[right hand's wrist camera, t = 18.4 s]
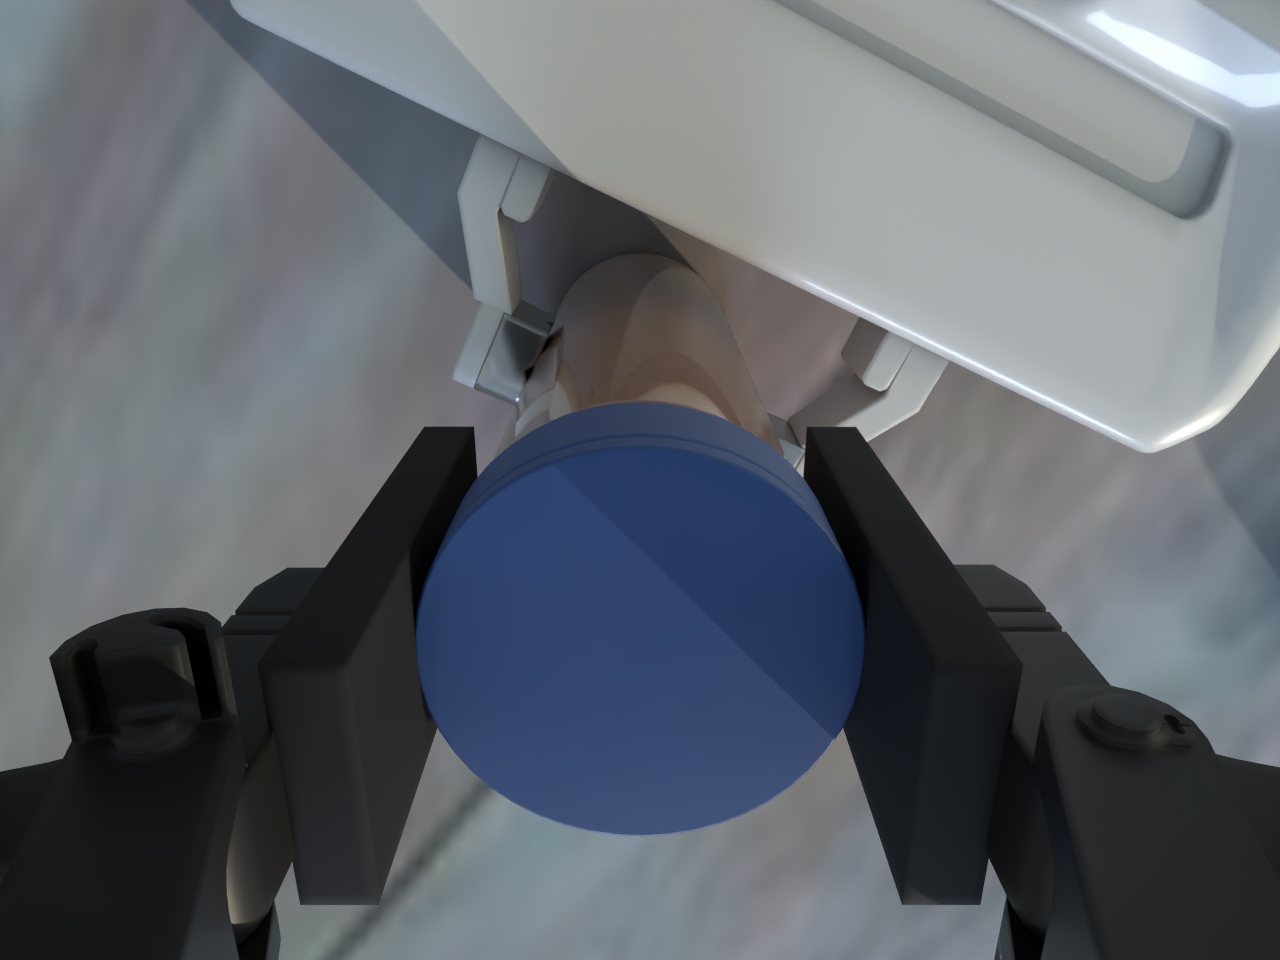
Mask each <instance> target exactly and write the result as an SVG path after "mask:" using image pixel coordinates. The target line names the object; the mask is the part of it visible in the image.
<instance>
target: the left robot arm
mask: <svg viewBox="0 0 1280 960" xmlns="http://www.w3.org/2000/svg"><path fill="white" fill-rule="evenodd" d="M230 2H231V5H232V7H233V8H234V9H235V11H236V12H237V13H238V14H239V15H240V16H241V17H243V18H244V19H246V20H247V21H249V22H251V23H253V24H255V25H257V26H259V27H261V28H263V29H265V30H268V31H270V32H272V33H274V34H276V35H278V36H280V37H282V38H284V39H286V40H288V41H290V42H292V43H294V44H296V45H299V46H301V47H303V48H305V49H307V50H309V51H311V52H313V53H315V54H317V55H319V56H321V57H323V58H325V59H328V60H330V61H332V62H334V63H336V64H338V65H340V66H342V67H344V68H346V69H348V70H350V71H352V72H354V73H356V74H359V75H361V76H363V77H365V78H367V79H369V80H371V81H373V82H375V83H377V84H379V85H381V86H383V87H385V88H388V89H390V90H392V91H394V92H396V93H398V94H400V95H402V96H404V97H406V98H408V99H410V100H412V101H414V102H416V103H419V104H421V105H423V106H425V107H427V108H429V109H431V110H433V111H435V112H437V113H439V114H441V115H443V116H445V117H448V118H450V119H452V120H454V121H456V122H458V123H460V124H462V125H464V126H466V127H468V128H470V129H472V130H474V131H476V132H479V133H480V134H479V136H478V139H477V142H476V144H475V147H474V150H473V153H472V155H471V158H470V161H469V163H468V166H467V169H466V171H465V174H464V177H463V179H462V182H461V185H460V187H459V190H458V193H457V197H458V203H459V209H460V215H461V221H462V227H463V234H464V240H465V246H466V252H467V258H468V264H469V270H470V276H471V282H472V289H473V295H474V299H475V300H477V301H479V302H480V304H479V306H478V309H477V311H476V314H475V316H474V319H473V321H472V324H471V326H470V329H469V331H468V334H467V336H466V339H465V341H464V344H463V346H462V349H461V351H460V354H459V356H458V359H457V361H456V364H455V366H454V369H453V373H452V377H451V379H453V380H455V381H457V382H459V383H461V384H463V385H465V386H467V387H469V388H471V389H476V390H478V391H481V392H483V393H485V394H488V395H490V396H493V397H495V398H497V399H500V400H502V401H505V402H507V403H509V404H512V405H514V406H516V405H517V403H518V401H519V399H520V396H521V394H522V392H523V389H524V387H525V385H526V382H527V380H528V378H529V376H530V373H531V371H532V369H533V366H534V365H535V363H536V362H537V360H538V359H539V357H540V355H541V352H542V350H543V348H544V346H545V343H546V341H547V338H548V336H549V334H550V331H551V329H552V327H553V324H554V322H555V319H556V316H554V315H552V314H550V313H548V312H546V311H544V310H542V309H540V308H538V307H536V306H534V305H531V304H529V303H527V302H525V301H523V300H522V289H521V281H520V272H519V264H518V256H517V247H516V239H515V230H514V222H513V219H514V220H516V221H519V222H521V223H523V222H525V221H527V220H529V219H531V218H532V217H533V216H534V215H535V214H536V213H538V212H539V211H540V210H541V208H542V205H543V203H544V201H545V198H546V196H547V194H548V191H549V189H550V186H551V184H552V182H553V179H554V177H555V175H556V172H557V171H559V172H561V173H563V174H565V175H568V176H570V177H572V178H574V179H576V180H578V181H580V182H582V183H584V184H586V185H588V186H590V187H592V188H594V189H596V190H599V191H601V192H603V193H605V194H607V195H609V196H611V197H613V198H615V199H617V200H619V201H621V202H623V203H625V204H627V205H630V206H632V207H634V208H636V209H638V210H640V211H642V212H644V213H646V214H648V215H650V216H652V217H654V218H656V219H659V220H661V221H663V222H665V223H667V224H669V225H671V226H673V227H675V228H677V229H679V230H681V231H683V232H685V233H687V234H690V235H692V236H694V237H696V238H698V239H700V240H702V241H704V242H706V243H708V244H710V245H712V246H714V247H716V248H719V249H721V250H723V251H725V252H727V253H729V254H731V255H733V256H735V257H737V258H739V259H741V260H743V261H745V262H747V263H750V264H752V265H754V266H756V267H758V268H760V269H762V270H764V271H766V272H768V273H770V274H772V275H774V276H776V277H779V278H781V279H783V280H785V281H787V282H789V283H791V284H793V285H795V286H797V287H799V288H801V289H803V290H805V291H807V292H810V293H812V294H814V295H816V296H818V297H820V298H822V299H824V300H826V301H828V302H830V303H832V304H834V305H836V306H839V307H841V308H843V309H845V310H847V311H849V312H851V313H853V314H855V315H857V316H859V319H858V321H857V323H856V325H855V327H854V328H853V330H852V332H851V334H850V336H849V338H848V340H847V342H846V343H845V345H844V347H843V349H842V351H841V355H842V359H843V360H844V361H845V362H846V363H847V364H848V366H849V367H850V368H851V369H852V370H853V371H854V373H855V374H853V375H852V376H850V377H849V378H847V379H846V380H845V381H843V382H842V383H840V384H839V385H837V386H836V387H834V388H833V389H831V390H830V391H828V392H827V393H825V394H824V395H822V396H821V397H819V398H818V399H816V400H815V401H814V402H812V403H811V404H809V405H808V406H806V407H805V408H803V409H802V410H800V411H799V412H797V413H796V414H794V415H793V416H791V417H790V418H788V421H789V422H788V421H786V420H784V419H781V418H779V417H777V416H774V415H772V414H770V413H767V414H768V416H769V419H770V421H771V423H772V426H773V428H774V430H775V432H776V435H777V437H778V439H779V442H780V444H781V446H782V449H783V451H784V453H785V455H786V458H787V460H788V462H789V463H790V464H791V465H792V466H793V467H794V468H795V469H796V471H797V472H798V473H799V474H800V475H801V476H802V477H803V473H804V458H805V444H806V430H807V427H857V429H858V430H859V431H860V433H861V434H862V436H863V437H864V439H865V440H866V441H869V440H871V439H873V438H874V437H876V436H878V435H879V434H881V433H883V432H885V431H886V430H888V429H890V428H891V427H893V426H895V425H897V424H898V423H900V422H902V421H903V420H905V419H907V418H908V417H910V416H912V415H914V414H915V413H917V412H918V411H919V410H920V408H921V407H922V405H923V403H924V402H925V400H926V398H927V397H928V395H929V393H930V392H931V390H932V388H933V387H934V385H935V384H936V382H937V380H938V379H939V377H940V375H941V374H942V372H943V370H944V369H945V367H946V366H947V364H948V362H949V361H952V362H954V363H956V364H958V365H961V366H963V367H965V368H967V369H969V370H971V371H973V372H975V373H977V374H979V375H981V376H983V377H985V378H987V379H990V380H992V381H994V382H996V383H998V384H1000V385H1002V386H1004V387H1006V388H1008V389H1010V390H1012V391H1014V392H1016V393H1018V394H1021V395H1023V396H1025V397H1027V398H1029V399H1031V400H1033V401H1035V402H1037V403H1039V404H1041V405H1043V406H1045V407H1047V408H1050V409H1052V410H1054V411H1056V412H1058V413H1060V414H1062V415H1064V416H1066V417H1068V418H1070V419H1072V420H1074V421H1076V422H1078V423H1081V424H1083V425H1085V426H1087V427H1089V428H1091V429H1093V430H1095V431H1097V432H1099V433H1101V434H1103V435H1105V436H1107V437H1110V438H1112V439H1114V440H1116V441H1118V442H1120V443H1122V444H1124V445H1126V446H1128V447H1130V448H1133V449H1135V450H1137V451H1139V452H1143V453H1154V452H1157V451H1160V450H1163V449H1165V448H1168V447H1170V446H1173V445H1175V444H1177V443H1180V442H1182V441H1185V440H1187V439H1189V438H1191V437H1193V436H1195V435H1198V434H1200V433H1202V432H1204V431H1206V430H1208V429H1210V428H1212V427H1213V426H1215V425H1216V424H1217V423H1219V422H1220V421H1221V420H1222V419H1223V418H1224V417H1225V416H1226V415H1227V414H1228V413H1229V412H1230V411H1231V410H1232V409H1233V408H1234V406H1235V405H1236V404H1237V403H1238V402H1239V400H1240V399H1241V398H1242V397H1243V396H1244V394H1245V393H1246V392H1247V391H1248V389H1249V388H1250V387H1251V386H1252V384H1253V383H1254V382H1255V380H1256V379H1257V377H1258V376H1259V375H1260V373H1261V372H1262V371H1263V369H1264V368H1265V367H1266V365H1267V364H1268V362H1269V361H1270V360H1271V358H1272V357H1273V356H1274V354H1275V353H1276V351H1277V350H1278V349H1279V347H1280V0H230Z"/></svg>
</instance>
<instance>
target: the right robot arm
mask: <svg viewBox="0 0 1280 960" xmlns="http://www.w3.org/2000/svg"><path fill="white" fill-rule="evenodd" d="M803 478H804V480H805V481H806V483H807V484H808V486H809V487H810V489H811V490H812V492H813V493H814V495H815V496H816V498H817V499H818V501H819V503H820V505H821V507H822V510H823V512H824V514H825V516H826V518H827V520H828V522H829V525H830V527H831V529H832V531H833V533H834V535H835V537H836V540H837V542H838V544H839V546H840V548H841V550H842V552H843V555H844V557H845V559H846V561H847V563H848V565H849V567H850V570H851V572H852V574H853V576H854V578H855V581H856V584H857V587H858V591H859V594H860V598H861V601H862V605H863V611H864V619H865V626H866V637H865V648H864V658H863V667H862V676H861V684H860V687H859V690H858V693H857V696H856V699H855V702H854V705H853V708H852V710H851V712H850V714H849V716H848V718H847V720H846V722H845V724H844V726H843V729H844V732H845V735H846V738H847V741H848V744H849V747H850V750H851V753H852V756H853V759H854V762H855V765H856V768H857V771H858V774H859V777H860V780H861V782H862V785H863V788H864V791H865V794H866V797H867V800H868V803H869V806H870V809H871V812H872V815H873V818H874V821H875V824H876V827H877V830H878V833H879V836H880V839H881V842H882V845H883V848H884V851H885V854H886V857H887V860H888V863H889V866H890V869H891V872H892V875H893V878H894V881H895V884H896V887H897V890H898V893H899V896H900V899H901V902H902V905H980V903H981V898H982V892H983V887H984V881H985V875H986V870H987V864H988V859H990V861H991V863H992V865H993V867H994V870H995V872H996V874H997V876H998V878H999V880H1000V882H1001V884H1002V886H1003V889H1004V891H1005V893H1006V895H1007V896H1006V902H1005V907H1004V912H1003V917H1002V922H1001V928H1000V933H999V938H998V943H997V948H996V954H995V959H994V960H1280V768H1279V767H1274V766H1269V765H1264V764H1259V763H1254V762H1248V761H1243V760H1238V759H1233V758H1229V757H1225V756H1222V755H1218V754H1215V752H1214V750H1213V748H1212V746H1211V744H1210V742H1209V740H1208V739H1207V738H1206V736H1205V735H1204V734H1203V733H1202V731H1201V730H1200V729H1199V728H1198V727H1197V725H1196V724H1195V723H1194V722H1193V721H1192V720H1191V719H1189V718H1188V717H1186V716H1185V715H1183V714H1182V713H1180V712H1179V711H1177V710H1176V709H1174V708H1173V707H1171V706H1170V705H1168V704H1166V703H1164V702H1161V701H1159V700H1156V699H1154V698H1152V697H1149V696H1147V695H1144V694H1142V693H1140V692H1136V691H1131V690H1127V689H1123V688H1118V687H1114V686H1111V685H1110V684H1109V683H1108V682H1107V681H1106V679H1105V678H1104V677H1103V676H1102V675H1101V673H1100V672H1099V671H1098V670H1097V669H1096V667H1095V666H1094V665H1093V664H1092V663H1091V661H1090V660H1089V659H1088V658H1087V657H1086V655H1085V654H1084V653H1083V652H1082V651H1081V649H1080V648H1079V647H1078V646H1077V645H1076V643H1075V642H1074V641H1073V640H1072V639H1071V637H1070V636H1069V635H1068V634H1067V633H1066V632H1062V627H1061V625H1060V624H1059V623H1058V622H1057V621H1056V619H1055V618H1054V617H1053V616H1052V615H1051V613H1050V612H1046V607H1045V606H1044V605H1043V604H1042V603H1041V601H1040V600H1039V599H1038V598H1037V597H1036V595H1035V594H1034V593H1033V592H1032V590H1031V589H1030V588H1029V587H1028V586H1027V585H1026V584H1025V583H1023V582H1021V581H1020V580H1018V579H1016V578H1015V577H1013V576H1011V575H1010V574H1008V573H1006V572H1005V571H1003V570H1001V569H1000V568H998V567H996V566H995V565H953V564H952V562H951V561H950V559H949V558H948V557H947V555H946V554H945V552H944V551H943V549H942V548H941V547H940V545H939V544H938V542H937V541H936V539H935V538H934V537H933V535H932V534H931V532H930V531H929V530H928V528H927V527H926V525H925V524H924V522H923V521H922V520H921V518H920V517H919V515H918V514H917V512H916V511H915V510H914V508H913V507H912V505H911V504H910V503H909V501H908V500H907V498H906V497H905V495H904V494H903V493H902V491H901V490H900V488H899V487H898V485H897V484H896V483H895V481H894V480H893V478H892V477H891V476H890V474H889V473H888V471H887V470H886V468H885V467H884V466H883V464H882V463H881V461H880V460H879V458H878V457H877V456H876V454H875V453H874V451H873V450H872V449H871V447H870V446H869V444H868V443H867V441H866V440H865V439H864V437H863V436H862V434H861V433H860V431H859V430H858V429H857V427H807V430H806V444H805V458H804V473H803ZM476 479H477V464H476V450H475V436H474V427H424V428H423V429H422V431H421V432H420V434H419V435H418V437H417V438H416V439H415V441H414V442H413V444H412V445H411V447H410V448H409V449H408V451H407V452H406V454H405V455H404V457H403V458H402V459H401V461H400V462H399V464H398V465H397V466H396V468H395V469H394V471H393V472H392V474H391V475H390V476H389V478H388V479H387V481H386V482H385V484H384V485H383V486H382V488H381V489H380V491H379V492H378V493H377V495H376V496H375V498H374V499H373V501H372V502H371V503H370V505H369V506H368V508H367V509H366V511H365V512H364V513H363V515H362V516H361V518H360V519H359V520H358V522H357V523H356V525H355V526H354V528H353V529H352V530H351V532H350V533H349V535H348V536H347V538H346V539H345V540H344V542H343V543H342V545H341V546H340V547H339V549H338V550H337V552H336V553H335V555H334V556H333V557H332V559H331V560H330V562H329V563H328V565H327V566H326V567H325V568H286V569H285V570H283V571H281V572H280V573H278V574H276V575H275V576H273V577H271V578H270V579H268V580H266V581H265V582H263V583H261V584H260V585H258V586H256V587H255V588H254V589H253V590H252V591H251V593H250V594H249V595H248V596H247V597H246V599H245V600H244V601H243V602H242V604H241V605H240V606H239V607H238V608H237V610H236V614H235V615H232V616H231V617H230V618H229V619H228V620H227V622H226V623H225V624H224V625H223V627H221V622H220V621H218V620H217V619H216V618H214V617H213V616H211V615H210V614H209V613H207V612H203V611H198V610H193V609H188V608H160V609H151V610H146V611H140V612H135V613H130V614H125V615H121V616H118V617H116V618H113V619H110V620H107V621H104V622H102V623H99V624H96V625H93V626H91V627H89V628H87V629H86V630H84V631H82V632H80V633H79V634H77V635H75V636H73V637H72V638H70V639H68V640H66V641H65V642H64V643H63V644H62V645H61V646H60V647H59V648H58V649H57V650H56V651H55V652H54V653H53V654H52V655H51V656H50V657H49V659H50V662H51V666H52V670H53V673H54V677H55V681H56V684H57V688H58V691H59V695H60V699H61V702H62V706H63V710H64V713H65V717H66V720H67V724H68V728H69V731H70V735H71V739H72V742H71V744H70V746H69V748H68V750H67V752H66V754H65V756H64V758H63V759H60V760H56V761H52V762H48V763H43V764H38V765H33V766H28V767H23V768H17V769H12V770H7V771H2V772H0V960H278V957H279V949H280V941H281V937H280V930H279V923H278V917H277V912H276V907H275V902H274V899H275V897H276V895H277V893H278V890H279V888H280V886H281V884H282V882H283V880H284V878H285V876H286V873H287V871H288V869H289V867H290V865H291V863H292V861H293V867H294V872H295V878H296V883H297V889H298V894H299V900H300V905H378V904H379V901H380V898H381V895H382V892H383V889H384V886H385V883H386V880H387V877H388V874H389V871H390V868H391V865H392V862H393V859H394V856H395V853H396V850H397V847H398V844H399V841H400V838H401V835H402V832H403V829H404V826H405V823H406V820H407V817H408V814H409V811H410V808H411V805H412V802H413V799H414V796H415V793H416V790H417V787H418V784H419V781H420V778H421V775H422V772H423V769H424V766H425V763H426V760H427V757H428V754H429V751H430V748H431V745H432V742H433V739H434V736H435V733H436V730H437V725H436V723H435V721H434V719H433V717H432V715H431V713H430V711H429V709H428V707H427V704H426V701H425V698H424V695H423V692H422V689H421V686H420V679H419V670H418V661H417V651H416V641H415V620H416V611H417V606H418V602H419V598H420V595H421V591H422V587H423V584H424V581H425V579H426V576H427V574H428V572H429V570H430V568H431V565H432V563H433V561H434V559H435V556H436V554H437V552H438V550H439V548H440V546H441V544H442V542H443V539H444V537H445V535H446V533H447V531H448V529H449V527H450V525H451V522H452V520H453V518H454V516H455V514H456V512H457V510H458V508H459V506H460V503H461V502H462V500H463V498H464V497H465V495H466V494H467V492H468V491H469V489H470V487H471V486H472V484H473V483H474V481H475V480H476Z"/></svg>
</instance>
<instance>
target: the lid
mask: <svg viewBox="0 0 1280 960" xmlns="http://www.w3.org/2000/svg"><path fill="white" fill-rule="evenodd" d="M865 637H866V626H865V619H864V611H863V605H862V601H861V598H860V594H859V591H858V587H857V584H856V581H855V578H854V576H853V574H852V572H851V570H850V567H849V565H848V563H847V561H846V559H845V557H844V555H843V552H842V550H841V548H840V546H839V544H838V542H837V540H836V537H835V535H834V533H833V531H832V529H831V527H830V525H829V522H828V520H827V518H826V516H825V514H824V512H823V510H822V507H821V505H820V503H819V501H818V499H817V498H816V496H815V495H814V493H813V492H812V490H811V489H810V487H809V486H808V484H807V483H806V481H805V480H804V478H803V477H802V476H801V475H800V474H799V473H798V472H797V471H796V469H795V468H794V467H793V466H792V465H791V464H790V463H789V462H788V460H786V459H785V458H784V457H783V456H782V455H781V454H779V453H778V452H777V451H776V450H775V449H774V448H772V447H771V446H770V445H769V444H768V443H766V442H765V441H763V440H761V439H760V438H758V437H757V436H755V435H754V434H752V433H751V432H749V431H747V430H746V429H744V428H742V427H740V426H738V425H736V424H733V423H731V422H729V421H727V420H725V419H723V418H721V417H718V416H714V415H711V414H708V413H705V412H702V411H699V410H696V409H691V408H686V407H681V406H675V405H670V404H659V403H641V402H637V403H622V404H610V405H605V406H600V407H595V408H589V409H584V410H581V411H578V412H575V413H572V414H569V415H566V416H563V417H560V418H557V419H555V420H553V421H551V422H549V423H547V424H545V425H543V426H541V427H539V428H537V429H534V430H532V431H531V432H529V433H528V434H526V435H525V436H523V437H522V438H520V439H519V440H517V441H516V442H514V443H513V444H511V445H510V446H509V447H508V448H507V449H505V450H504V451H503V452H502V453H501V454H500V455H499V456H497V457H496V458H495V459H494V460H493V461H492V462H491V463H490V464H489V465H488V466H487V467H486V469H485V470H484V471H483V472H482V473H481V474H480V476H479V477H478V478H477V479H476V480H475V481H474V483H473V484H472V486H471V487H470V489H469V491H468V492H467V494H466V495H465V497H464V498H463V500H462V502H461V503H460V506H459V508H458V510H457V512H456V514H455V516H454V518H453V520H452V522H451V525H450V527H449V529H448V531H447V533H446V535H445V537H444V539H443V542H442V544H441V546H440V548H439V550H438V552H437V554H436V556H435V559H434V561H433V563H432V565H431V568H430V570H429V572H428V574H427V576H426V579H425V581H424V584H423V587H422V591H421V595H420V598H419V602H418V606H417V611H416V620H415V641H416V651H417V661H418V670H419V679H420V686H421V689H422V692H423V695H424V698H425V701H426V704H427V707H428V709H429V711H430V713H431V715H432V717H433V719H434V721H435V723H436V725H437V727H438V729H439V731H440V732H441V734H442V735H443V737H444V738H445V739H446V741H447V742H448V744H449V745H450V747H451V748H452V749H453V751H454V752H455V753H456V755H457V756H458V757H459V758H460V759H461V760H462V761H463V762H464V763H465V764H466V765H467V767H468V768H469V769H470V770H471V771H472V772H473V773H474V774H476V775H477V776H478V777H479V778H480V779H481V780H483V781H484V782H485V783H486V784H487V785H489V786H490V787H491V788H492V789H494V790H495V791H497V792H498V793H500V794H501V795H503V796H504V797H506V798H507V799H509V800H510V801H512V802H513V803H515V804H517V805H519V806H521V807H523V808H525V809H527V810H529V811H531V812H533V813H535V814H537V815H539V816H542V817H544V818H547V819H550V820H552V821H555V822H558V823H560V824H563V825H567V826H571V827H575V828H579V829H582V830H586V831H592V832H598V833H605V834H611V835H626V836H654V835H670V834H676V833H682V832H688V831H695V830H698V829H702V828H706V827H709V826H713V825H717V824H721V823H723V822H726V821H728V820H731V819H733V818H736V817H739V816H741V815H744V814H746V813H748V812H750V811H752V810H754V809H756V808H757V807H759V806H761V805H763V804H765V803H767V802H769V801H770V800H772V799H773V798H775V797H776V796H778V795H779V794H781V793H782V792H784V791H785V790H787V789H788V788H790V787H791V786H792V785H793V784H794V783H795V782H797V781H798V780H799V779H800V778H801V777H802V776H804V775H805V774H806V773H807V772H808V771H809V770H810V769H811V768H812V767H813V766H814V765H815V764H816V763H817V761H818V760H819V759H820V758H821V757H822V756H823V755H824V754H825V753H826V751H827V750H828V749H829V747H830V746H831V744H832V743H833V741H834V740H835V738H836V737H837V735H838V734H839V733H840V731H841V730H842V728H843V726H844V724H845V722H846V720H847V718H848V716H849V714H850V712H851V710H852V708H853V705H854V702H855V699H856V696H857V693H858V690H859V687H860V684H861V676H862V667H863V658H864V648H865Z"/></svg>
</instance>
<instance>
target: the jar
mask: <svg viewBox="0 0 1280 960" xmlns="http://www.w3.org/2000/svg"><path fill="white" fill-rule="evenodd" d="M637 402H641V403H659V404H670V405H675V406H681V407H686V408H691V409H696V410H699V411H702V412H705V413H708V414H711V415H714V416H718V417H721V418H723V419H725V420H727V421H729V422H731V423H733V424H736V425H738V426H740V427H742V428H744V429H746V430H747V431H749V432H751V433H752V434H754V435H755V436H757V437H758V438H760V439H761V440H763V441H765V442H766V443H768V444H769V445H770V446H771V447H772V448H774V449H775V450H776V451H777V452H778V453H779V454H781V455H782V456H783V457H784V458H785V459H786V460H787V458H786V455H785V453H784V451H783V449H782V446H781V444H780V442H779V439H778V437H777V435H776V432H775V430H774V428H773V426H772V423H771V421H770V419H769V416H768V414H767V412H766V409H765V407H764V405H763V402H762V400H761V398H760V396H759V393H758V391H757V389H756V386H755V384H754V382H753V379H752V377H751V375H750V372H749V370H748V368H747V366H746V363H745V361H744V359H743V356H742V354H741V352H740V349H739V347H738V345H737V343H736V340H735V338H734V336H733V333H732V331H731V329H730V326H729V324H728V322H727V319H726V317H725V315H724V313H723V310H722V308H721V306H720V304H719V302H718V299H717V297H716V296H715V294H714V293H713V291H712V290H711V288H710V287H709V286H708V285H707V283H706V282H705V281H704V280H703V279H702V278H701V277H700V276H699V275H698V274H696V273H695V272H694V271H693V270H691V269H690V268H688V267H687V266H685V265H684V264H682V263H680V262H678V261H676V260H673V259H670V258H667V257H664V256H660V255H655V254H647V253H633V254H625V255H620V256H616V257H613V258H610V259H607V260H605V261H603V262H601V263H599V264H597V265H595V266H593V267H592V268H591V269H589V270H588V271H586V272H585V273H584V274H583V275H582V276H581V277H579V278H578V279H577V280H576V281H575V283H574V284H573V285H572V286H571V287H570V289H569V290H568V292H567V293H566V295H565V296H564V298H563V300H562V302H561V304H560V307H559V309H558V311H557V313H556V319H555V322H554V324H553V327H552V329H551V331H550V334H549V336H548V338H547V341H546V343H545V346H544V348H543V350H542V352H541V355H540V357H539V359H538V360H537V362H536V363H535V365H534V366H533V369H532V371H531V373H530V376H529V378H528V380H527V382H526V385H525V387H524V389H523V392H522V394H521V396H520V399H519V401H518V403H517V405H516V408H515V410H514V412H513V415H512V417H511V419H510V422H509V424H508V426H507V428H506V431H505V433H504V435H503V438H502V440H501V442H500V445H499V447H498V449H497V451H496V454H495V456H494V458H493V460H494V459H495V458H496V457H497V456H499V455H500V454H501V453H502V452H503V451H504V450H505V449H507V448H508V447H509V446H510V445H511V444H513V443H514V442H516V441H517V440H519V439H520V438H522V437H523V436H525V435H526V434H528V433H529V432H531V431H532V430H534V429H537V428H539V427H541V426H543V425H545V424H547V423H549V422H551V421H553V420H555V419H557V418H560V417H563V416H566V415H569V414H572V413H575V412H578V411H581V410H584V409H589V408H595V407H600V406H605V405H610V404H622V403H637Z"/></svg>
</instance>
